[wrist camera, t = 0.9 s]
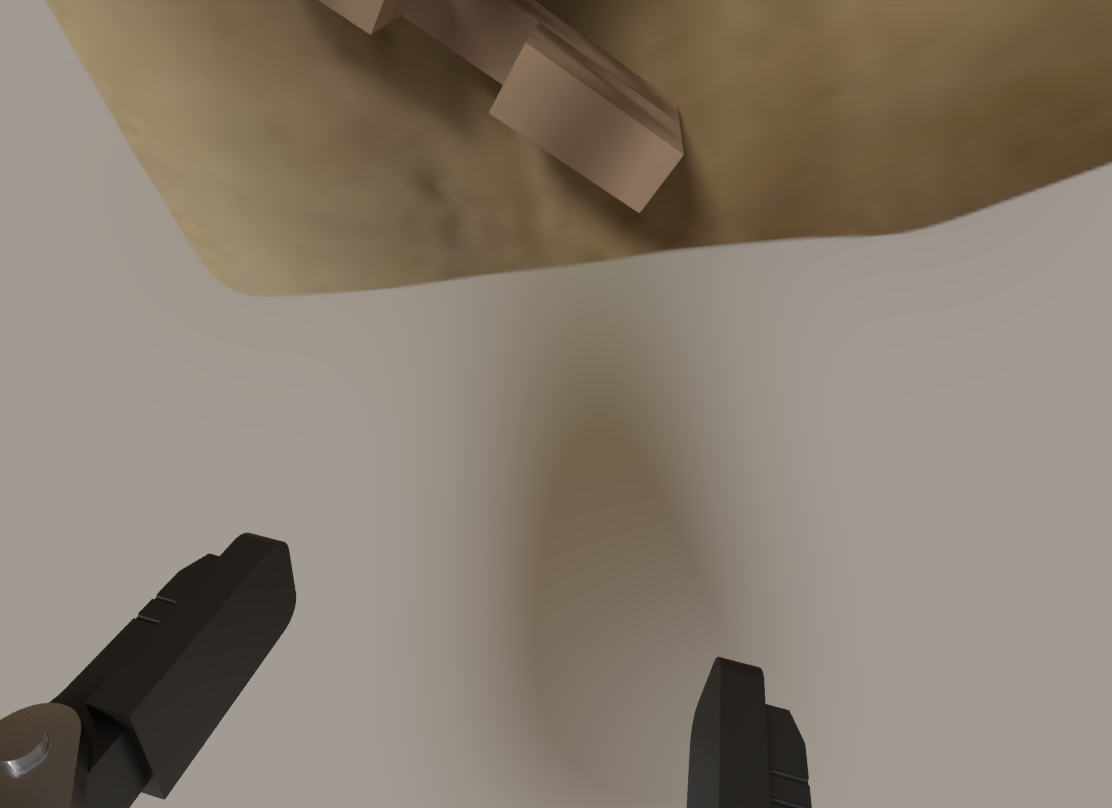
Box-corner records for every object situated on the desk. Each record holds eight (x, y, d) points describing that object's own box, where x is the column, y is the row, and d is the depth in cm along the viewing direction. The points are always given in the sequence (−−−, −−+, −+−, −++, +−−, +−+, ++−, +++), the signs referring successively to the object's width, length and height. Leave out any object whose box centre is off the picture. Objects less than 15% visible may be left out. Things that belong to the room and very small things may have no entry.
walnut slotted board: (262, -105, 28) (173, -96, 23) (281, -186, 26) (189, -197, 21) (640, 156, 33) (639, 213, 28) (677, 104, 32) (683, 154, 26)
